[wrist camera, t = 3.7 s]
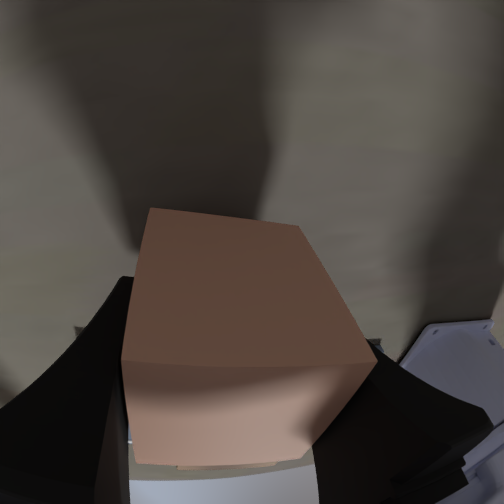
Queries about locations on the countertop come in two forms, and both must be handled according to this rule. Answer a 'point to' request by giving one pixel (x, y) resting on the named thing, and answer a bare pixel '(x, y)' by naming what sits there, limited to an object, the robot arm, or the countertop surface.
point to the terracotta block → (234, 343)
